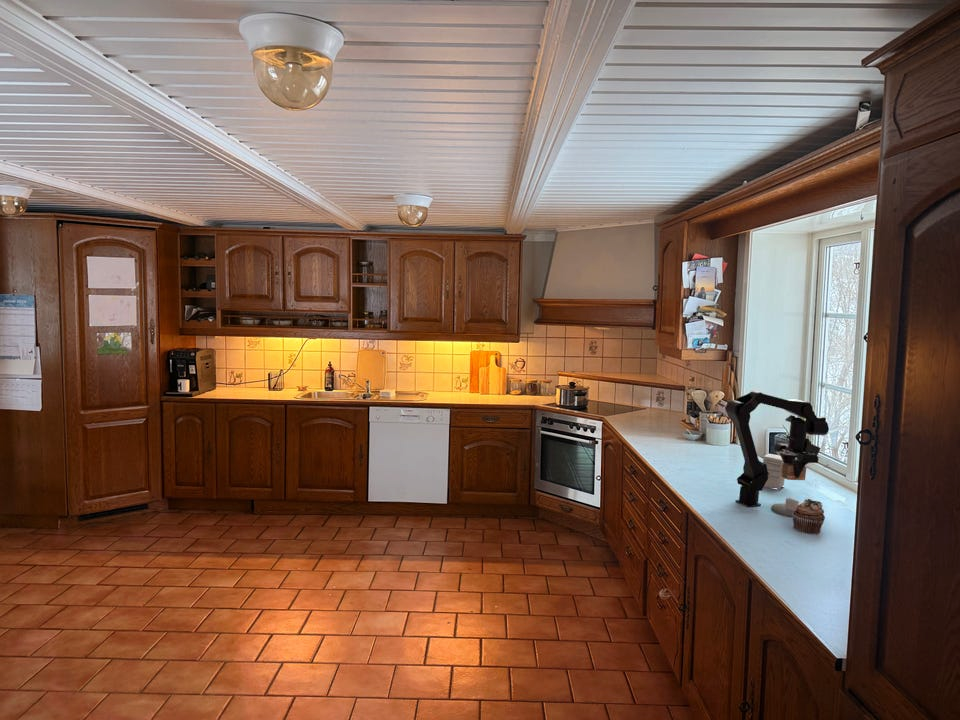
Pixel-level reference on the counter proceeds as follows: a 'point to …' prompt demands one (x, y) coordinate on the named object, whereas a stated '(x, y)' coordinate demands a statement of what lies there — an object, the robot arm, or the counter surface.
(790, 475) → the walnut sleeve
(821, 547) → the counter surface
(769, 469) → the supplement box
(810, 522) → the cupcake
